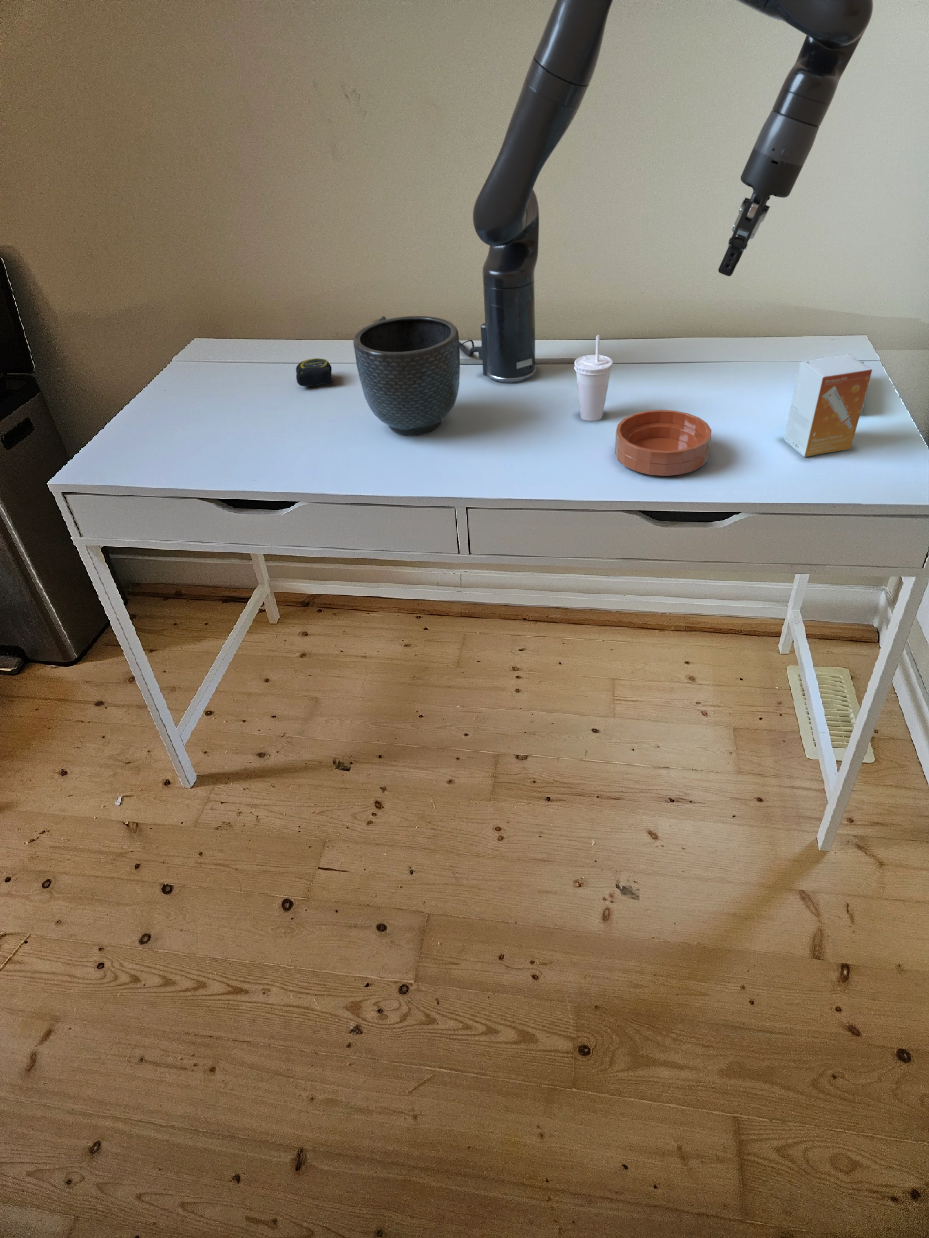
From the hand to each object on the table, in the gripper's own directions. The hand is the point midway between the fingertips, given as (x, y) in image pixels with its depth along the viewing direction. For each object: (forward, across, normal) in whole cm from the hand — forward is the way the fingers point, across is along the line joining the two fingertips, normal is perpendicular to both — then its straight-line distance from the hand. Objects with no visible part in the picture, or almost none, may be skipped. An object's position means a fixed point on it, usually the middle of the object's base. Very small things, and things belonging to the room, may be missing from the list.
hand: (727, 268), depth 126 cm
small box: (+17, +8, +24) cm, 31 cm away
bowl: (+25, +18, +3) cm, 31 cm away
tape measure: (+44, +5, -63) cm, 77 cm away
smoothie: (+28, +6, -10) cm, 31 cm away
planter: (+38, +16, -38) cm, 56 cm away
